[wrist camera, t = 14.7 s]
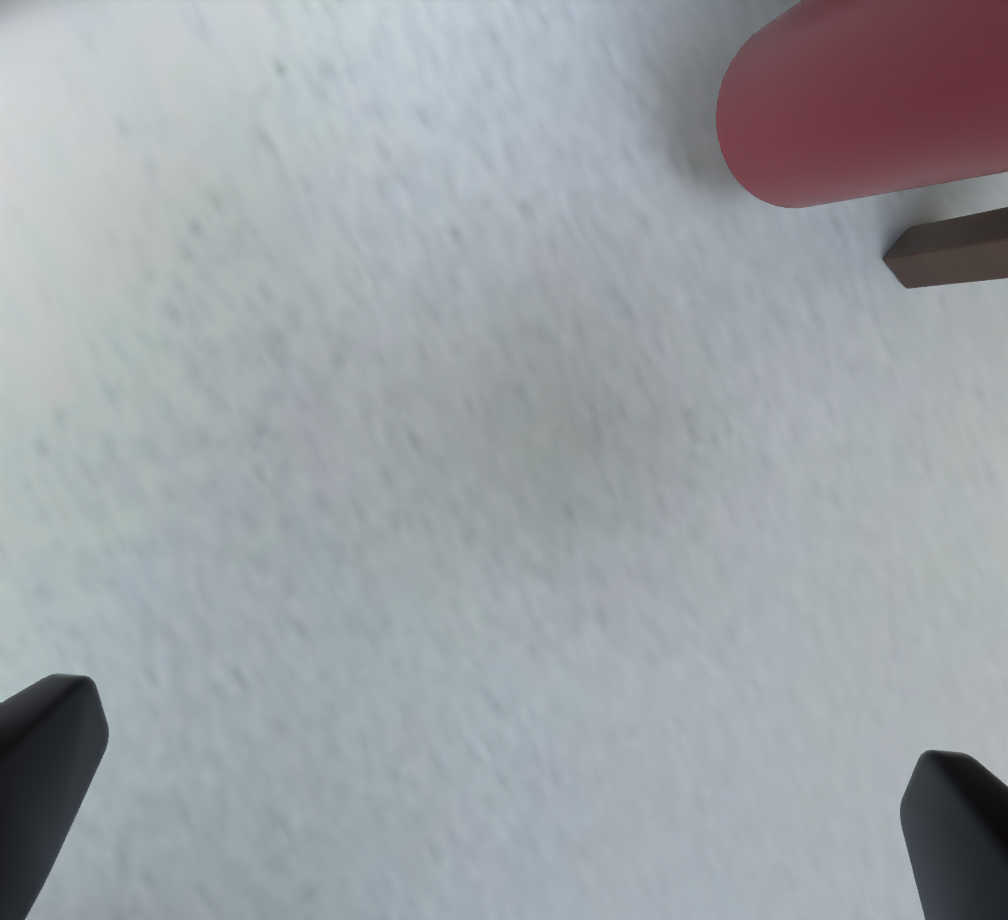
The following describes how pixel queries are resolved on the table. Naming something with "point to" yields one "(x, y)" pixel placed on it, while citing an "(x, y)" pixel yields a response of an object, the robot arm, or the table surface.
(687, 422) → the table surface
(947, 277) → the chair
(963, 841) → the robot arm
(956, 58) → the red cylinder with handle
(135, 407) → the table surface
